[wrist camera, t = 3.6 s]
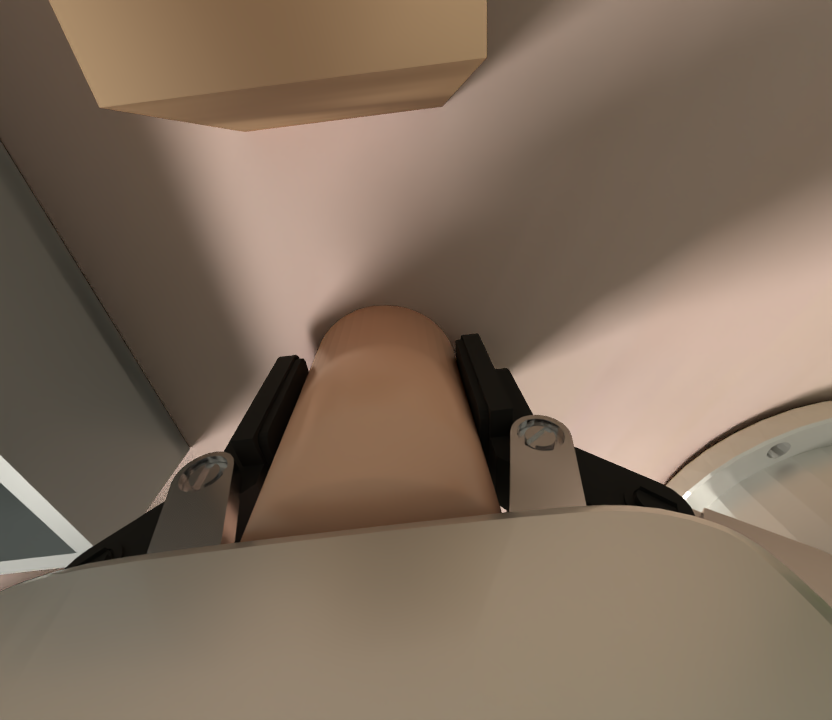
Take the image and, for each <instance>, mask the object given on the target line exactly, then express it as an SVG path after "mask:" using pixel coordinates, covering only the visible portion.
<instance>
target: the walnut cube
mask: <svg viewBox="0 0 832 720" xmlns="http://www.w3.org/2000/svg"><path fill="white" fill-rule="evenodd" d="M49 2H50V4H51V6H52V9H53V11H54V13H55V15H56V17H57V19H58V21H59V23H60V25H61V28H62V30H63V32H64V34H65V36H66V38H67V40H68V42H69V44H70V47H71V49H72V51H73V53H74V55H75V57H76V59H77V61H78V63H79V66H80V68H81V70H82V72H83V74H84V76H85V78H86V80H87V83H88V85H89V87H90V89H91V91H92V93H93V95H94V97H95V99H96V102H97V104H98V106H99V108H104V109H110V110H116V111H122V112H128V113H134V114H140V115H146V116H152V117H158V118H164V119H170V120H176V121H182V122H188V123H195V124H201V125H207V126H213V127H219V128H225V129H231V130H237V131H243V132H247V131H255V130H263V129H271V128H278V127H286V126H294V125H302V124H310V123H317V122H325V121H333V120H341V119H349V118H357V117H364V116H372V115H380V114H388V113H396V112H403V111H411V110H419V109H427V108H435V107H442V106H443V105H444V104H445V103H446V102H447V101H448V99H449V98H450V97H451V96H452V95H453V94H454V93H455V92H456V91H457V90H458V89H459V87H460V86H461V85H462V84H463V83H464V82H465V81H466V80H467V79H468V78H469V77H470V75H471V74H472V73H473V72H474V71H475V70H476V69H477V68H478V67H479V66H480V64H481V63H482V62H483V61H484V60H485V59H486V58H487V0H49Z"/></svg>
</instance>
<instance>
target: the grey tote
mask: <svg viewBox="0 0 832 720" xmlns="http://www.w3.org/2000/svg"><path fill="white" fill-rule="evenodd" d="M189 449H190V448H189V446H188V445H187V443H186V442H185V440H184V438H183V437H182V435H181V433H180V432H179V430H178V429H177V427H176V425H175V424H174V422H173V420H172V419H171V417H170V416H169V414H168V412H167V411H166V409H165V407H164V406H163V404H162V403H161V401H160V399H159V398H158V396H157V394H156V393H155V391H154V390H153V388H152V386H151V385H150V383H149V381H148V380H147V378H146V377H145V375H144V373H143V372H142V370H141V368H140V367H139V365H138V364H137V362H136V360H135V359H134V357H133V355H132V354H131V352H130V351H129V349H128V347H127V346H126V344H125V342H124V341H123V339H122V338H121V336H120V334H119V333H118V331H117V330H116V328H115V326H114V325H113V323H112V321H111V320H110V318H109V317H108V315H107V313H106V312H105V310H104V308H103V307H102V305H101V304H100V302H99V300H98V299H97V297H96V295H95V294H94V292H93V291H92V289H91V287H90V286H89V284H88V282H87V281H86V279H85V278H84V276H83V274H82V273H81V271H80V269H79V268H78V266H77V265H76V263H75V261H74V260H73V258H72V256H71V255H70V253H69V252H68V250H67V248H66V247H65V245H64V243H63V242H62V240H61V239H60V237H59V235H58V234H57V232H56V230H55V229H54V227H53V226H52V224H51V222H50V221H49V219H48V217H47V216H46V214H45V213H44V211H43V209H42V208H41V206H40V205H39V203H38V201H37V200H36V198H35V196H34V195H33V193H32V192H31V190H30V188H29V187H28V185H27V183H26V182H25V180H24V179H23V177H22V175H21V174H20V172H19V170H18V169H17V167H16V166H15V164H14V162H13V161H12V159H11V157H10V156H9V154H8V153H7V151H6V149H5V148H4V146H3V144H2V143H1V141H0V575H3V574H11V573H20V572H29V571H38V570H47V569H56V568H64V567H67V566H68V565H69V564H70V563H71V562H72V561H73V560H74V559H75V558H77V557H78V556H79V555H81V554H82V553H84V552H85V551H86V550H88V549H89V548H91V547H92V546H94V545H96V544H97V543H99V542H100V541H102V540H104V539H105V538H107V537H108V536H110V535H112V534H113V533H115V532H116V531H118V530H120V529H121V528H123V527H124V526H126V525H128V524H129V523H131V522H132V521H134V520H136V519H137V518H139V517H140V516H142V515H144V513H145V512H146V510H147V509H148V508H149V506H150V505H151V503H152V502H153V501H154V499H155V498H156V496H157V495H158V493H159V492H160V491H161V489H162V488H163V486H164V485H165V484H166V482H167V481H168V479H169V478H170V476H171V475H172V474H173V472H174V471H175V469H176V468H177V466H178V465H179V464H180V462H181V461H182V459H183V458H184V457H185V455H186V454H187V452H188V451H189Z"/></svg>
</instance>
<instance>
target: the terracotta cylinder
mask: <svg viewBox="0 0 832 720" xmlns="http://www.w3.org/2000/svg"><path fill="white" fill-rule="evenodd" d="M495 513H502V512H501V509H500V505H499V502H498V499H497V495H496V492H495V489H494V485H493V482H492V479H491V475H490V472H489V469H488V465H487V462H486V459H485V455H484V452H483V449H482V445H481V442H480V439H479V435H478V432H477V429H476V425H475V422H474V419H473V415H472V412H471V409H470V405H469V402H468V399H467V395H466V392H465V389H464V385H463V382H462V379H461V375H460V372H459V369H458V365H457V362H456V359H455V355H454V352H453V349H452V346H451V344H450V341H449V339H448V338H447V336H446V335H445V333H444V332H443V331H442V330H441V328H440V327H439V326H438V325H437V324H435V323H434V322H433V321H432V320H431V319H429V318H427V317H426V316H424V315H423V314H421V313H418V312H416V311H414V310H411V309H408V308H405V307H399V306H391V305H378V306H371V307H365V308H362V309H359V310H356V311H354V312H352V313H350V314H347V315H346V316H344V317H343V318H341V319H340V320H338V321H337V322H336V323H335V324H334V325H333V326H332V327H331V328H330V329H329V330H328V331H327V333H326V334H325V336H324V338H323V339H322V341H321V344H320V346H319V348H318V351H317V353H316V356H315V358H314V361H313V363H312V366H311V368H310V371H309V373H308V376H307V378H306V380H305V383H304V385H303V388H302V390H301V393H300V395H299V398H298V400H297V403H296V405H295V408H294V410H293V413H292V415H291V417H290V420H289V422H288V425H287V427H286V430H285V432H284V435H283V437H282V440H281V442H280V445H279V447H278V450H277V452H276V454H275V457H274V459H273V462H272V464H271V467H270V469H269V472H268V474H267V477H266V479H265V482H264V484H263V487H262V489H261V491H260V494H259V496H258V499H257V501H256V504H255V506H254V509H253V511H252V514H251V516H250V519H249V521H248V524H247V526H246V529H245V531H244V533H243V536H242V538H241V541H240V542H247V541H255V540H263V539H272V538H280V537H289V536H297V535H306V534H315V533H323V532H332V531H341V530H350V529H359V528H367V527H376V526H385V525H394V524H403V523H412V522H421V521H431V520H440V519H449V518H458V517H468V516H477V515H486V514H495Z"/></svg>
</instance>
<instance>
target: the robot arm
mask: <svg viewBox="0 0 832 720" xmlns="http://www.w3.org/2000/svg"><path fill="white" fill-rule="evenodd" d="M455 345H456V362H457V365H458V369H459V372H460V375H461V379H462V382H463V385H464V389H465V392H466V395H467V399H468V402H469V405H470V409H471V412H472V415H473V419H474V422H475V425H476V429H477V432H478V435H479V439H480V442H481V445H482V449H483V452H484V455H485V459H486V462H487V465H488V469H489V472H490V475H491V479H492V482H493V485H494V489H495V492H496V495H497V499H498V502H499V505H500V506H501V507H503V508H504V509H506V510H507V512H505V513H495V514H486V515H477V516H468V517H458V518H449V519H440V520H431V521H421V522H412V523H403V524H394V525H385V526H376V527H367V528H359V529H350V530H341V531H332V532H323V533H315V534H306V535H297V536H289V537H280V538H272V539H263V540H255V541H247V542H240V541H241V538H242V536H243V533H244V531H245V529H246V526H247V524H248V521H249V519H250V516H251V514H252V511H253V509H254V506H255V504H256V501H257V499H258V496H259V494H260V491H261V489H262V487H263V484H264V482H265V479H266V477H267V474H268V472H269V469H270V467H271V464H272V462H273V459H274V457H275V454H276V452H277V450H278V447H279V445H280V442H281V440H282V437H283V435H284V432H285V430H286V427H287V425H288V422H289V420H290V417H291V415H292V413H293V410H294V408H295V405H296V403H297V400H298V398H299V395H300V393H301V390H302V388H303V385H304V383H305V380H306V378H307V376H308V373H309V371H308V368H307V365H306V362H305V360H304V359H299V357H298V356H297V355H292V356H284V357H279V358H278V359H277V361H276V363H275V364H274V366H273V368H272V369H271V371H270V373H269V375H268V376H267V378H266V380H265V382H264V383H263V385H262V387H261V388H260V390H259V392H258V394H257V395H256V397H255V399H254V400H253V402H252V404H251V406H250V407H249V409H248V411H247V412H246V414H245V416H244V418H243V419H242V421H241V423H240V424H239V426H238V428H237V430H236V431H235V433H234V435H233V436H232V438H231V440H230V442H229V444H228V445H227V447H226V449H225V450H224V452H212V453H208V454H205V455H202V456H200V457H198V458H196V459H194V460H193V461H191V462H189V463H188V464H187V465H185V466H184V467H183V468H182V469H181V470H180V471H179V472H178V473H177V474H176V475H175V477H174V479H173V481H172V483H171V486H170V488H169V491H168V494H167V497H166V500H165V501H164V502H163V503H161V504H160V505H158V506H156V507H155V508H153V509H152V510H150V511H148V512H147V513H145V514H144V515H142V516H140V517H139V518H137V519H136V520H134V521H132V522H131V523H129V524H128V525H126V526H124V527H123V528H121V529H120V530H118V531H116V532H115V533H113V534H112V535H110V536H108V537H107V538H105V539H104V540H102V541H100V542H99V543H97V544H96V545H94V546H92V547H91V548H89V549H88V550H86V551H85V552H84V553H82V554H81V555H79V556H78V557H77V558H75V559H74V560H73V561H72V562H71V563H70V564H69V565H68V566H67V567H66V568H65V569H63V570H59V571H55V572H52V573H49V574H46V575H43V576H39V577H36V578H33V579H30V580H27V581H24V582H22V583H19V584H17V585H15V586H12V587H10V588H7V589H5V590H3V591H0V720H832V401H825V402H820V403H816V404H812V405H807V406H803V407H799V408H795V409H791V410H789V411H786V412H783V413H780V414H778V415H775V416H772V417H769V418H766V419H764V420H761V421H759V422H757V423H755V424H753V425H751V426H748V427H746V428H744V429H742V430H740V431H738V432H736V433H734V434H732V435H730V436H729V437H727V438H725V439H724V440H722V441H720V442H719V443H717V444H715V445H714V446H712V447H710V448H709V449H707V450H706V451H704V452H703V453H702V454H700V455H699V456H698V457H696V458H695V459H694V460H693V461H691V462H690V463H689V464H687V465H686V466H685V467H684V468H683V469H682V470H681V471H680V472H679V473H678V474H677V475H676V476H675V477H674V478H672V479H671V480H670V481H669V482H668V483H667V485H666V486H665V485H663V484H661V483H659V482H656V481H654V480H652V479H649V478H647V477H645V476H642V475H640V474H638V473H635V472H633V471H630V470H628V469H626V468H623V467H621V466H619V465H616V464H614V463H612V462H609V461H607V460H604V459H602V458H600V457H597V456H595V455H593V454H590V453H588V452H586V451H583V450H581V449H578V448H576V447H574V444H573V439H572V435H571V433H570V431H569V429H568V428H567V427H566V426H565V425H564V424H563V423H561V422H559V421H558V420H556V419H554V418H551V417H548V416H543V415H533V414H532V412H531V410H530V408H529V406H528V404H527V403H526V401H525V399H524V397H523V395H522V393H521V391H520V389H519V388H518V386H517V384H516V382H515V380H514V378H513V376H512V374H511V373H510V371H509V369H507V368H503V369H495V368H494V366H493V364H492V362H491V360H490V358H489V356H488V353H487V351H486V349H485V347H484V345H483V343H482V341H481V338H480V336H479V334H469V335H461V340H456V341H455Z"/></svg>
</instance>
